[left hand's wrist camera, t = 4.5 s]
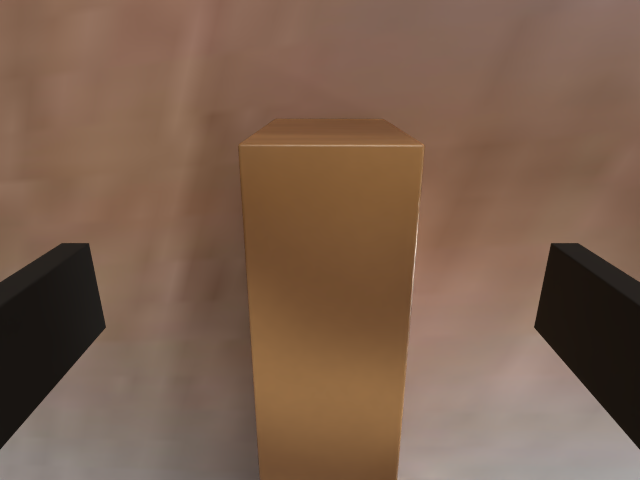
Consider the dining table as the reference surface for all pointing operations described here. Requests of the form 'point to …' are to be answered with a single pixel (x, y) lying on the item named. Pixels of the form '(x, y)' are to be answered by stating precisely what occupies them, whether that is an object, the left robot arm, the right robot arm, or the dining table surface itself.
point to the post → (330, 292)
